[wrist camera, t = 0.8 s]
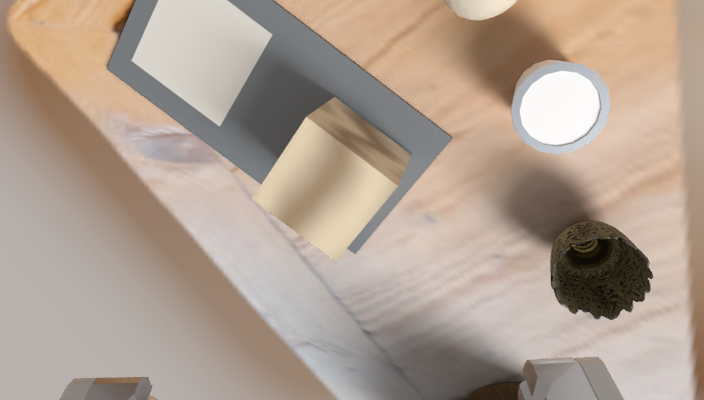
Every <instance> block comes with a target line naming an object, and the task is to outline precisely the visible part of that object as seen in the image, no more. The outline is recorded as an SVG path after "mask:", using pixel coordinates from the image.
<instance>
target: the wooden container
mask: <svg viewBox="0 0 704 400" xmlns="http://www.w3.org/2000/svg"><path fill="white" fill-rule="evenodd" d="M519 384H521V383H500V384H494V385H490V386H486V387H484V388H481V389H479V390H477V391H475V392H474V393H472V394H470V395H469V396H468V397H467V398H465V399H464V400H518V390H519Z"/></svg>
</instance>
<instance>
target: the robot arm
mask: <svg viewBox="0 0 704 400" xmlns="http://www.w3.org/2000/svg"><path fill="white" fill-rule="evenodd" d="M523 373H524V376H525V379H526V380H524V381H523V382H522V383H521V384H519V390H518V400H624V398H623V397H622V395H621V393H620V391H619V389H618V388H617V386H616V384H615V382H614V380H613V379H612V377H611V375H610V373H609V371H608V370H607V368H606V366H605V364H604V362H603V361H602V360H601V359H600V358H599V357H584V358H572V357H571V358H554V359H537V360H527V361H526V362H525V364H524V368H523ZM151 389H152V385H151V383H150V381H149V378H148V377H128V378H127V377H126V378H124V377H123V378H82V379H74V380H73V381H71V382H70V383H69V384H68V386H67V387H66V389H65V391H64V393H63V395H62V396H61V398H60V400H157V399H155V398H154V397H152V396H151V395H150V392H151Z"/></svg>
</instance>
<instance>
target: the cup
mask: <svg viewBox="0 0 704 400" xmlns="http://www.w3.org/2000/svg"><path fill="white" fill-rule="evenodd" d="M589 240H591V242H590V243H589V244H588V245H585V246H579V245H578V244H581V243H583V242H585V241H589ZM649 264H650V263H649V260H648V258H647V257H646V256H645V255H644V254H643V253H642V252H641V251H640V250H639V249H638V248H637V247H636V246H635V245H634V244H633V243H632V242H631V241H630V240H629V239H628V238H627V237H626V236H625V235H624V234H623V233H621V232H620V231H619V230H617V229H616V228H614V227H613V226H610V225H608V224H606V223H603V222H598V221H583V222H579V223H576V224H573V225H571V226H569V227H568V228H566V229H565V230H564V231H562V232H561V233H560V235H559V236H558V237H557V238H556V240H555V242H554V245H553V247H552V251H551V261H550V265H551V286H552V289H554V292H555V296H556V298H557V300H558V302H559V303H560V304H561V305H562V306H565V307H567V308H569V310H570V312H572V313H573V314H576V313H577V312H578V310H582V311H583V312H590V313H591V314H592V315H593V316H594V318H595V319H600V318H601V316H604V317H605V318H608V319H610V320H613V319H615V318H617V317H618V316H619V314H620V312H621V310H623V309H625V310H626V311H628V312H631V311H632V309H633V301H636V302H638V301H639V302H642V301H644V299H645V293H648V292H650V289H651V288H650V282H649V280H648V278H650V279H652V278H653V274H652V272H651V271H650V269H649Z"/></svg>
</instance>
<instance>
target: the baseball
mask: <svg viewBox="0 0 704 400" xmlns="http://www.w3.org/2000/svg"><path fill="white" fill-rule="evenodd" d="M444 1H445V3H446V4H447V5H448V7H449V8H450V9H451V10H452V11H453V12H454V13H455V14H456V15H458V16H460V17H462V18H465V19H469V20H485V19H489V18H492V17H495V16H497V15H499V14H501V13H503V12H505V11H506V10H507V9H509V8H510V7H511V6H512V5H513V4H515V3H516V2H517V1H518V0H444Z"/></svg>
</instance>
